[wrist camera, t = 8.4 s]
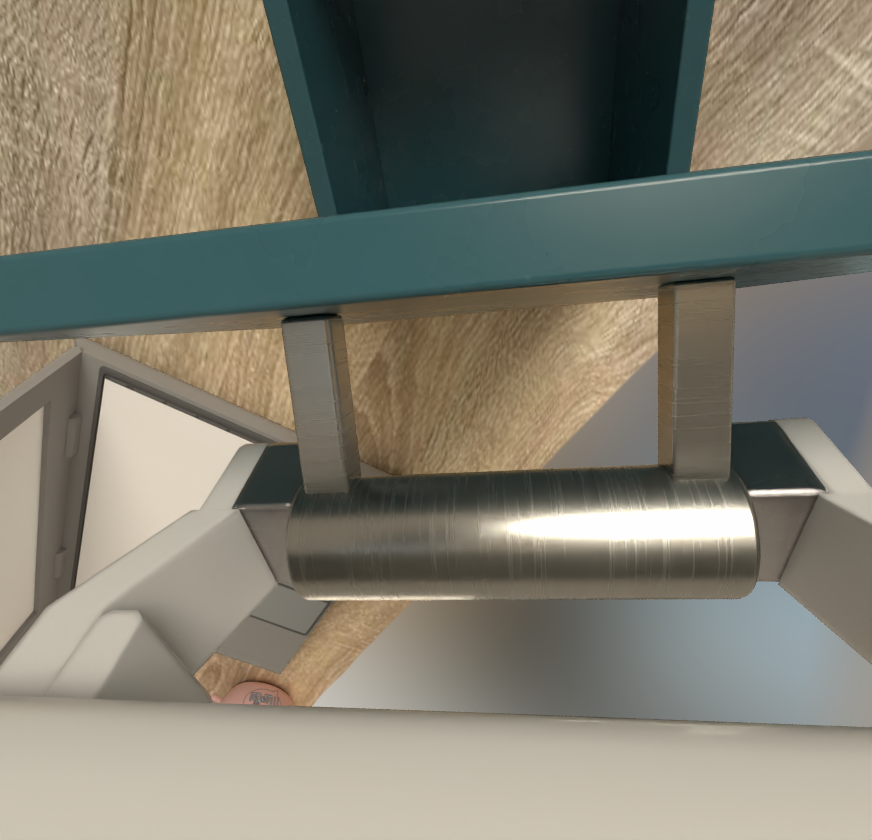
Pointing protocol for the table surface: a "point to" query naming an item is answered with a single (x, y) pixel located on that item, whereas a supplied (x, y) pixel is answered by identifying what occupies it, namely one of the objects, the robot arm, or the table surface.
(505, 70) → the teal box
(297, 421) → the lid
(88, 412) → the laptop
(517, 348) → the table surface
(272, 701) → the mug
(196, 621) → the robot arm
